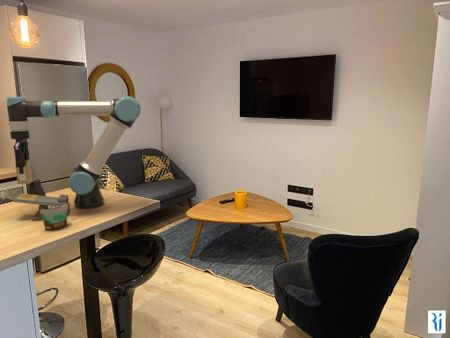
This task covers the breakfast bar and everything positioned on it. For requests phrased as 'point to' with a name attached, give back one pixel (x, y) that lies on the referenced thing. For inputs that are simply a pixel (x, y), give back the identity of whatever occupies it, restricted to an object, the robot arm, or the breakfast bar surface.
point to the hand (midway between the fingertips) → (25, 178)
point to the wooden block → (28, 172)
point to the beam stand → (39, 216)
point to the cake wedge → (55, 217)
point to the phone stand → (36, 188)
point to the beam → (41, 199)
